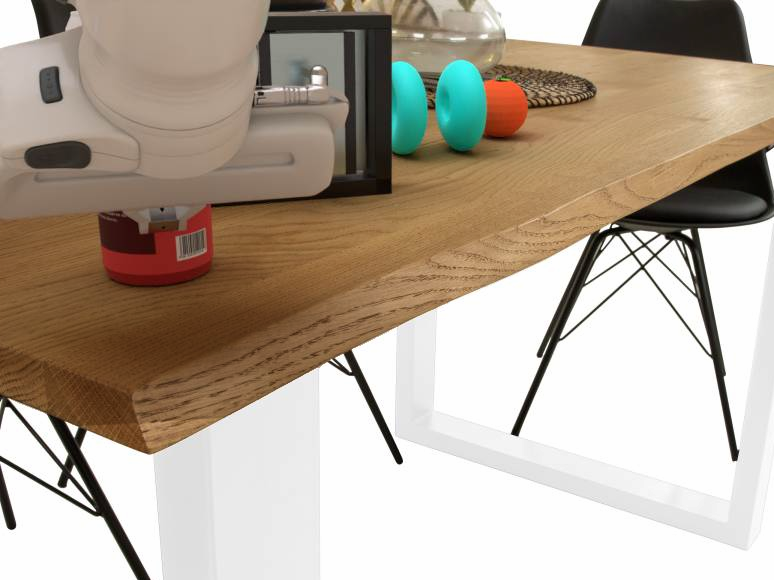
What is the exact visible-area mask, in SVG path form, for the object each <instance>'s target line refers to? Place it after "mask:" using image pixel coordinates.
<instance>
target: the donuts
mask: <svg viewBox="0 0 774 580" xmlns="http://www.w3.org/2000/svg"><path fill="white" fill-rule="evenodd" d="M484 83H485V82H484V81H483V77H482V75H481V73H480V72H479V70H478V68H477V67H476V66H475V65H474V64H473V63H472V62H470V61H468V60H464V59H457V60H453V61H452V62H450V63H449V64H447V65H446V66H445V68H444V69H443V71H442V72H441V74H440V76H439V78H438V82H437V86H436V90H435V101H434V102H435V103H434V105H435V106H434V107H435V117H436V122H437V126H438V129H439V132H440V134H441V137H442V139H443V140H444V141H445V143H446V144H447V145H448V146H449V147H450V148H451V149H453V150H455V151H458V152H468V151H471V150H472V149H474V148H476V146H477V145H478V144H479V143H480V141H481V139H482V137H483V134H484V128H485V123H486V115H487V102H486V93H485V88H484ZM428 109H429V107H428V96H427V91H426V87H425V84H424V81H423V79H422V76H421V74H420V73H419V72H418V70H417V69H416V68H415V67H414V66H413V65H412V64H411V63H408V62H406V61H395V62H392V153H395V154H397V155H403V156H404V155H408V154H411V153H413V152H415V150H417V149H418V148H419V147H420V145H421V143H422V141H423V140H424V137H425V134H426V131H427V126H428V115H429V110H428Z"/></svg>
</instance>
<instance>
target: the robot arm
mask: <svg viewBox="0 0 774 580" xmlns="http://www.w3.org/2000/svg"><path fill="white" fill-rule="evenodd" d="M55 1H56V2H58V3H60V4H62V5H67V4H70V5H72V6H73V7H74V8H75V10H76V11H77V12H78V14H79V16H80V19H81V22H82V25H81V26H79V27H76V28H73V29H70V30H67V31H66V30H65V31H61V32H59V33H55V34H52V35H48V36H44V37H41V38H37V39H33V40H29V41H24V42H19V43H15V44H10V45H7V46H4V47H1V48H0V219H1V220H5V221H11V220H21V219H34V218H45V217H46V218H47V217H59V216H70V215H72V216H73V215H84V214H98V213H99V212H111V211H122V212H123V213H124V214H125V215H127V216H128V217H130V218H132V219H133V220H135V221H136V222H138V225H139V231H140V234H147V233H157V232H169V231H183V230H186V226H187V219H190V218H191V217H192V216H194V215H195V214H197V213H198V212H199V211H201V210H202V209H203V208H205V207H206V206H207V204H215V203H228V202H240V201H253V200H266V199H279V198H292V197H305V196H313V195H316V194H318V193H320V192H321V191H323V190H324V189H326V188H327V187H328V186H329V185H330V183H331V179H332V174H333V168H334V157H335V147H334V139H333V135H334V134H336V133H337V132H338V131H340V130H341V129H342V128H343V126H344V124H345V121H346V118H347V115H348V112H349V101H348V99H347V98H346V96H345V95H343V94H341V93H339V92H336V91H330V90H329V88H328V86H326V85H321V84H308V85H304V86H259V85H257V79H258V53H257V44H258V42H259V41H260V39H261V36H262V34H263V32H264V29H265V26H266V23H267V18H268V13H269V12H270V7H271V0H55Z"/></svg>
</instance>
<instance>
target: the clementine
mask: <svg viewBox="0 0 774 580" xmlns="http://www.w3.org/2000/svg"><path fill="white" fill-rule="evenodd" d="M483 83H484V88H485V93H486V102H487V115H486V123H485V128H484V132H483V134H485V135H488V136H490V137H493V138H505V137H508V136H511V135H513V134H514V133H516V132H517V131H519V130H520V129H521V127H523V125H524V123H525V122H526V119H527V117H528V112H529V105H528V103H529V102H528V97H527V95H526V93H525V92H524V89H522V87H521V86H520V85H518V84H517V83H516V82H514V80H513V79H511V78H502V77H501V76H499V78H492V79H489V80H487V81H485V82H483Z"/></svg>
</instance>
